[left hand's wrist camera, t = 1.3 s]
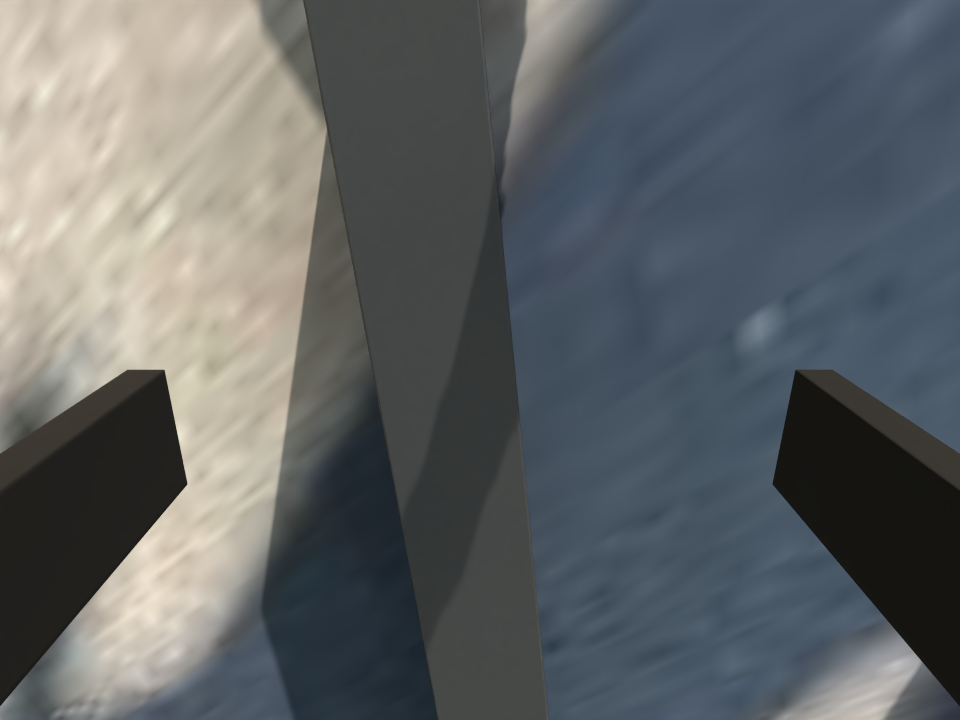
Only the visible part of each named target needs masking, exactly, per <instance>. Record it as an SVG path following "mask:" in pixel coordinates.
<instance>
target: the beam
mask: <svg viewBox="0 0 960 720" xmlns="http://www.w3.org/2000/svg"><path fill="white" fill-rule="evenodd" d="M303 2H304V7H305V12H306V18H307V23H308V29H309V34H310V39H311V45H312V50H313V55H314V61H315V66H316V71H317V77H318V82H319V87H320V93H321V98H322V103H323V109H324V114H325V119H326V125H327V130H328V135H329V141H330V146H331V151H332V157H333V162H334V167H335V173H336V178H337V183H338V189H339V194H340V199H341V205H342V210H343V215H344V221H345V226H346V231H347V237H348V242H349V247H350V253H351V258H352V263H353V269H354V274H355V280H356V285H357V290H358V296H359V301H360V306H361V312H362V317H363V322H364V328H365V333H366V338H367V344H368V349H369V354H370V360H371V365H372V370H373V376H374V381H375V386H376V392H377V397H378V402H379V408H380V413H381V418H382V424H383V429H384V434H385V440H386V445H387V450H388V456H389V461H390V466H391V472H392V477H393V482H394V488H395V493H396V498H397V504H398V509H399V514H400V520H401V525H402V530H403V536H404V541H405V547H406V552H407V557H408V563H409V568H410V573H411V579H412V584H413V589H414V595H415V600H416V605H417V611H418V616H419V621H420V627H421V632H422V637H423V643H424V648H425V653H426V659H427V664H428V669H429V675H430V680H431V685H432V691H433V696H434V701H435V707H436V712H437V717H438V720H549V719H548V708H547V698H546V687H545V677H544V667H543V656H542V646H541V635H540V625H539V615H538V604H537V594H536V583H535V573H534V563H533V552H532V542H531V531H530V521H529V511H528V500H527V490H526V480H525V469H524V459H523V448H522V438H521V428H520V417H519V407H518V396H517V386H516V376H515V365H514V355H513V344H512V334H511V324H510V313H509V303H508V292H507V282H506V272H505V261H504V251H503V241H502V230H501V220H500V209H499V199H498V189H497V178H496V168H495V157H494V147H493V137H492V126H491V116H490V105H489V95H488V85H487V74H486V64H485V53H484V43H483V33H482V22H481V12H480V1H479V0H303Z"/></svg>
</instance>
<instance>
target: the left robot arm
mask: <svg viewBox="0 0 960 720" xmlns="http://www.w3.org/2000/svg"><path fill="white" fill-rule="evenodd" d="M186 485H187V479H186V474H185V470H184V465H183V460H182V455H181V450H180V445H179V440H178V435H177V430H176V425H175V420H174V415H173V410H172V405H171V400H170V395H169V390H168V385H167V380H166V375H165V370H127V371H125V372H124V373H122V374H121V375H119V376H118V377H116V378H114V379H113V380H111V381H110V382H108V383H107V384H105V385H104V386H102V387H101V388H99V389H98V390H96V391H95V392H93V393H92V394H90V395H89V396H87V397H86V398H84V399H83V400H81V401H80V402H78V403H77V404H75V405H74V406H72V407H71V408H69V409H67V410H66V411H64V412H63V413H61V414H60V415H58V416H57V417H55V418H54V419H52V420H51V421H49V422H48V423H46V424H45V425H43V426H42V427H40V428H39V429H37V430H36V431H34V432H33V433H31V434H30V435H28V436H27V437H25V438H24V439H22V440H20V441H19V442H17V443H16V444H14V445H13V446H11V447H10V448H8V449H7V450H5V451H4V452H2V453H1V454H0V706H1V705H2V703H3V702H4V701H5V700H6V699H7V697H8V696H9V695H10V694H11V693H12V692H13V690H14V689H15V688H16V687H17V686H18V684H19V683H20V682H21V681H22V680H23V679H24V677H25V676H26V675H27V674H28V673H29V671H30V670H31V669H32V668H33V667H34V665H35V664H36V663H37V662H38V661H39V660H40V658H41V657H42V656H43V655H44V654H45V652H46V651H47V650H48V649H49V648H50V647H51V645H52V644H53V643H54V642H55V641H56V639H57V638H58V637H59V636H60V635H61V633H62V632H63V631H64V630H65V629H66V628H67V626H68V625H69V624H70V623H71V622H72V620H73V619H74V618H75V617H76V616H77V615H78V613H79V612H80V611H81V610H82V609H83V607H84V606H85V605H86V604H87V603H88V601H89V600H90V599H91V598H92V597H93V596H94V594H95V593H96V592H97V591H98V590H99V588H100V587H101V586H102V585H103V584H104V583H105V581H106V580H107V579H108V578H109V577H110V575H111V574H112V573H113V572H114V571H115V569H116V568H117V567H118V566H119V565H120V564H121V562H122V561H123V560H124V559H125V558H126V556H127V555H128V554H129V553H130V552H131V551H132V549H133V548H134V547H135V546H136V545H137V543H138V542H139V541H140V540H141V539H142V537H143V536H144V535H145V534H146V533H147V532H148V530H149V529H150V528H151V527H152V526H153V524H154V523H155V522H156V521H157V520H158V519H159V517H160V516H161V515H162V514H163V513H164V511H165V510H166V509H167V508H168V507H169V505H170V504H171V503H172V502H173V501H174V500H175V498H176V497H177V496H178V495H179V494H180V492H181V491H182V490H183V489H184V488H185V487H186ZM773 485H774V487H775V488H776V489H777V490H778V491H779V492H780V494H781V495H782V496H783V497H784V498H785V500H786V501H787V502H788V503H789V504H790V505H791V507H792V508H793V509H794V510H795V511H796V513H797V514H798V515H799V516H800V517H801V519H802V520H803V521H804V522H805V523H806V524H807V526H808V527H809V528H810V529H811V530H812V532H813V533H814V534H815V535H816V536H817V537H818V539H819V540H820V541H821V542H822V543H823V545H824V546H825V547H826V548H827V549H828V551H829V552H830V553H831V554H832V555H833V556H834V558H835V559H836V560H837V561H838V562H839V564H840V565H841V566H842V567H843V568H844V569H845V571H846V572H847V573H848V574H849V575H850V577H851V578H852V579H853V580H854V581H855V583H856V584H857V585H858V586H859V587H860V588H861V590H862V591H863V592H864V593H865V594H866V596H867V597H868V598H869V599H870V600H871V601H872V603H873V604H874V605H875V606H876V607H877V609H878V610H879V611H880V612H881V613H882V615H883V616H884V617H885V618H886V619H887V620H888V622H889V623H890V624H891V625H892V626H893V628H894V629H895V630H896V631H897V632H898V633H899V635H900V636H901V637H902V638H903V639H904V641H905V642H906V643H907V644H908V645H909V647H910V648H911V649H912V650H913V651H914V652H915V654H916V655H917V656H918V657H919V658H920V660H921V661H922V662H923V663H924V664H925V665H926V667H927V668H928V669H929V670H930V671H931V673H932V674H933V675H934V676H935V677H936V679H937V680H938V681H939V682H940V683H941V684H942V686H943V687H944V688H945V689H946V690H947V692H948V693H949V694H950V695H951V696H952V697H953V699H954V700H955V701H956V702H957V703H958V705H959V706H960V454H959V453H958V452H956V451H955V450H953V449H952V448H950V447H949V446H947V445H946V444H944V443H943V442H941V441H940V440H938V439H936V438H935V437H933V436H932V435H930V434H929V433H927V432H926V431H924V430H923V429H921V428H920V427H918V426H917V425H915V424H914V423H912V422H911V421H909V420H908V419H906V418H905V417H903V416H902V415H900V414H899V413H897V412H896V411H894V410H893V409H891V408H889V407H888V406H886V405H885V404H883V403H882V402H880V401H879V400H877V399H876V398H874V397H873V396H871V395H870V394H868V393H867V392H865V391H864V390H862V389H861V388H859V387H858V386H856V385H855V384H853V383H852V382H850V381H849V380H847V379H845V378H844V377H842V376H841V375H839V374H838V373H836V372H835V371H833V370H795V375H794V380H793V385H792V390H791V395H790V400H789V405H788V410H787V415H786V420H785V425H784V430H783V435H782V440H781V445H780V450H779V455H778V460H777V465H776V470H775V474H774V479H773Z"/></svg>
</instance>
